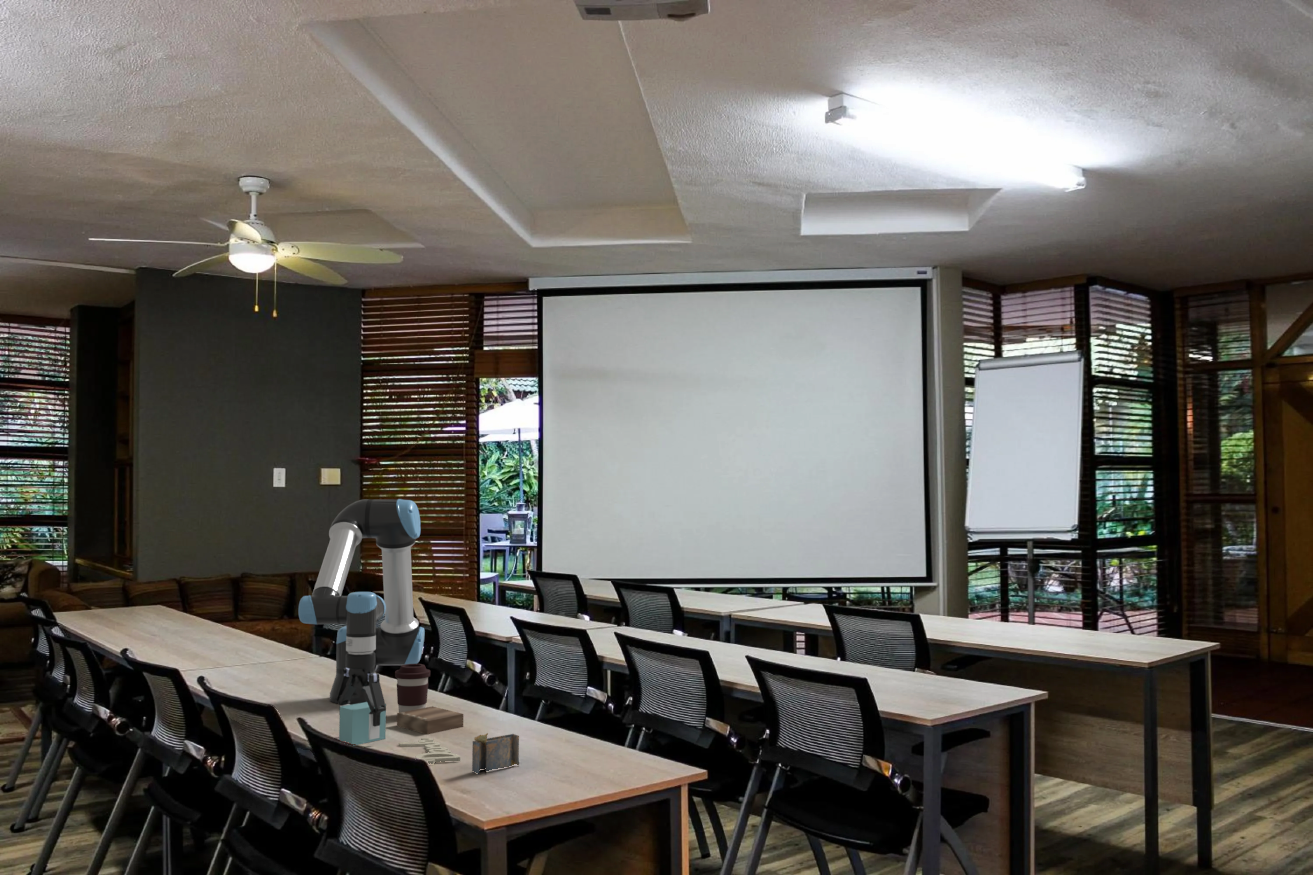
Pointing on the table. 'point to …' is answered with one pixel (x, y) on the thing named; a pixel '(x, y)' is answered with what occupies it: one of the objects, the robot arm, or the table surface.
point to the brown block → (430, 720)
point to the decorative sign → (433, 751)
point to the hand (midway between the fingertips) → (359, 734)
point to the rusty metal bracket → (495, 752)
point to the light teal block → (358, 724)
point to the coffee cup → (412, 686)
